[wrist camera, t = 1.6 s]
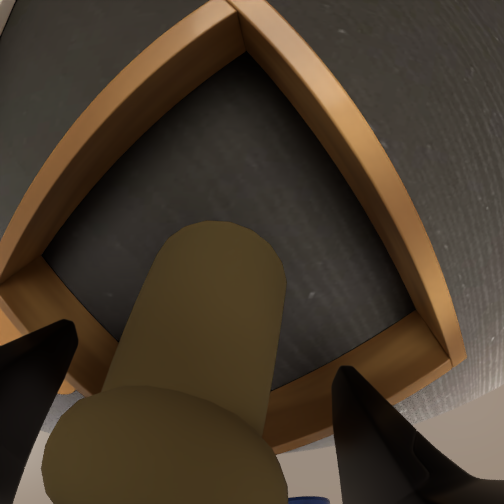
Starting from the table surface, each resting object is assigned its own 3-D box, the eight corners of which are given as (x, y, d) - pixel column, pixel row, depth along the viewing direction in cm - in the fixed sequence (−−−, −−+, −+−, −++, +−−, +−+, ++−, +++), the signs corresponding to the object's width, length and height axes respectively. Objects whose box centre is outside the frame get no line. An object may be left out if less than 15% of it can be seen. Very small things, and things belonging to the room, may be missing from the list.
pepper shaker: (303, 238, 12) (387, 549, 2) (268, 349, 14) (265, 575, 4) (158, 207, 12) (-60, 422, 1) (150, 323, 14) (58, 524, 4)
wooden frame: (431, 310, 13) (467, 358, 9) (207, 425, 17) (199, 473, 13) (250, 27, 9) (243, -21, 5) (28, 252, 13) (-18, 284, 9)
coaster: (102, 372, 16) (99, 376, 15) (55, 400, 18) (53, 403, 18) (8, 267, 13) (4, 270, 13) (-16, 323, 16) (-19, 326, 15)
